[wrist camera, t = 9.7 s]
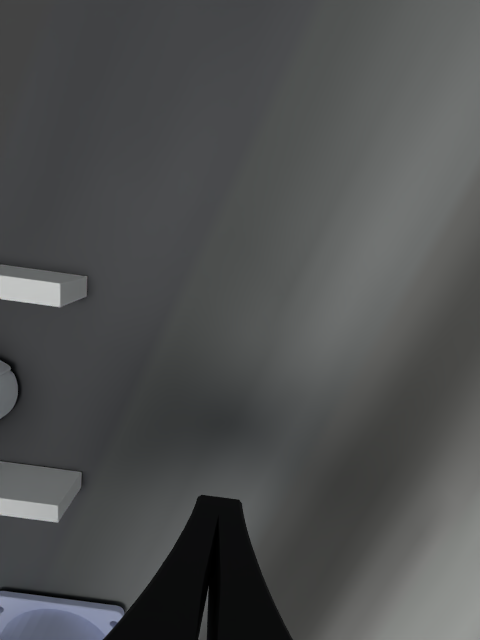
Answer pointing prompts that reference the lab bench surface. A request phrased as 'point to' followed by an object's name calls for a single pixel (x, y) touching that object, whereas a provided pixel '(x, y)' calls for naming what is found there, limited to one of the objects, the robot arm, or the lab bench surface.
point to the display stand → (27, 480)
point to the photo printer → (7, 389)
